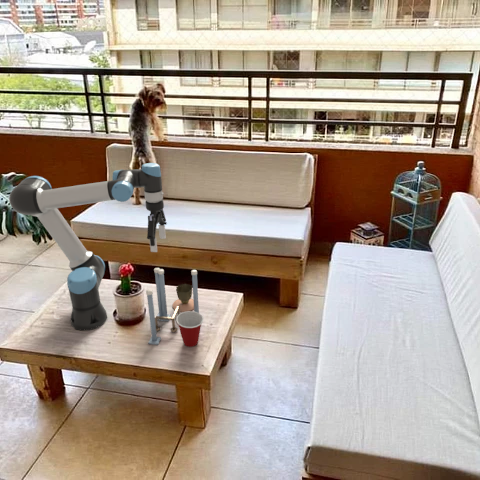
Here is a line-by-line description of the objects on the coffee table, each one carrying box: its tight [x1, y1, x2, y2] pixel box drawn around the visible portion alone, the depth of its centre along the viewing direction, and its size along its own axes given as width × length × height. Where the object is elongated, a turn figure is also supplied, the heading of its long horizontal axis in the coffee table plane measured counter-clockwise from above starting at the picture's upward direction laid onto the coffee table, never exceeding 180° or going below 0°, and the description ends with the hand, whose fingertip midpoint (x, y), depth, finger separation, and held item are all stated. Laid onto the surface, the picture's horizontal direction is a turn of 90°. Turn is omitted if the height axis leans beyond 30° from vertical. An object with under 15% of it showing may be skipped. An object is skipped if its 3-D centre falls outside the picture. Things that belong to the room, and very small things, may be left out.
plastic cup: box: [175, 310, 204, 347], centre depth 178 cm, size 11×11×12 cm
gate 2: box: [153, 267, 200, 316], centre depth 191 cm, size 4×20×24 cm, turn 83°
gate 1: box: [145, 268, 172, 346], centre depth 184 cm, size 4×20×24 cm, turn 173°
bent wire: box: [155, 306, 181, 333], centre depth 191 cm, size 10×12×6 cm
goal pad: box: [172, 298, 194, 313], centre depth 205 cm, size 11×11×1 cm
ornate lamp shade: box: [175, 283, 193, 304], centre depth 205 cm, size 8×7×8 cm
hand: (158, 244), depth 198 cm, fingers open, 13 cm apart
